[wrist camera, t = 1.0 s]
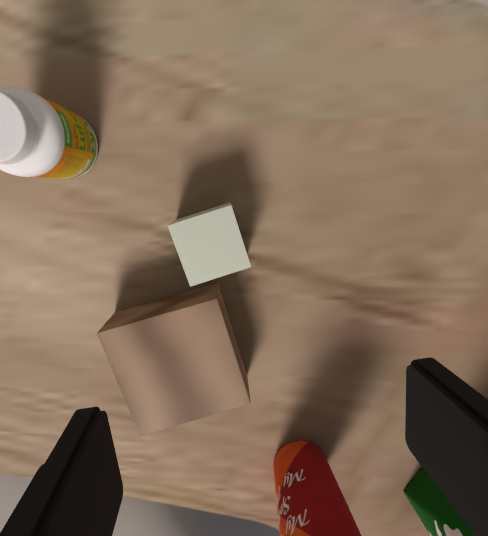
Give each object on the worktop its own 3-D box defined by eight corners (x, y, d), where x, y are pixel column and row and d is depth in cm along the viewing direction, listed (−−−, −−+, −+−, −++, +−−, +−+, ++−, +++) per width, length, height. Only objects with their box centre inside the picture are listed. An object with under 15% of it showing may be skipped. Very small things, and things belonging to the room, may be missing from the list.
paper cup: (266, 431, 36) (291, 579, 22) (338, 431, 37) (405, 577, 23) (261, 492, 38) (281, 664, 24) (329, 492, 38) (388, 661, 25)
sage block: (230, 201, 31) (231, 204, 26) (247, 254, 32) (251, 267, 27) (176, 219, 31) (167, 225, 26) (195, 271, 32) (190, 286, 27)
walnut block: (218, 281, 32) (216, 298, 27) (246, 373, 35) (250, 404, 30) (116, 311, 32) (96, 333, 28) (151, 400, 35) (139, 435, 30)
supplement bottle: (112, 156, 29) (59, 142, 20) (61, 191, 29) (-16, 193, 20) (71, 97, 28) (-7, 51, 18) (18, 134, 28) (-86, 108, 19)
